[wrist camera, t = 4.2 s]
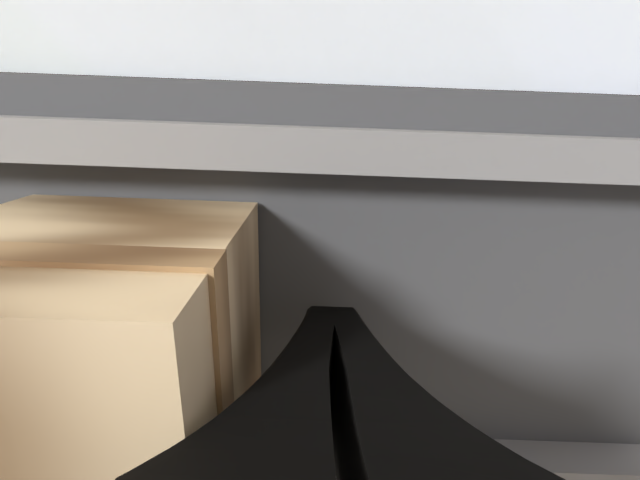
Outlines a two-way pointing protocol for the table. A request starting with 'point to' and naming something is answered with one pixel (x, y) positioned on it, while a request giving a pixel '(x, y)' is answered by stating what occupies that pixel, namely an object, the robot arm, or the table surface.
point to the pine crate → (120, 328)
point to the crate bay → (397, 228)
